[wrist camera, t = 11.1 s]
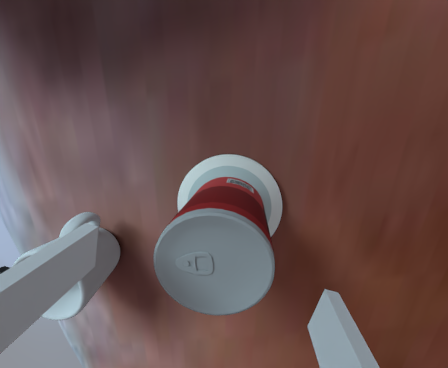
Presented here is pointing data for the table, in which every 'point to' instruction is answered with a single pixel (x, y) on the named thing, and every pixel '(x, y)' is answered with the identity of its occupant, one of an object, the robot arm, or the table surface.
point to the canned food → (217, 250)
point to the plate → (242, 170)
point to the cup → (92, 280)
